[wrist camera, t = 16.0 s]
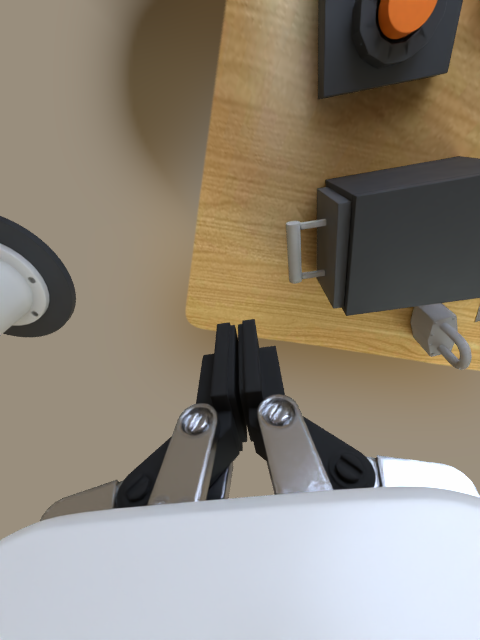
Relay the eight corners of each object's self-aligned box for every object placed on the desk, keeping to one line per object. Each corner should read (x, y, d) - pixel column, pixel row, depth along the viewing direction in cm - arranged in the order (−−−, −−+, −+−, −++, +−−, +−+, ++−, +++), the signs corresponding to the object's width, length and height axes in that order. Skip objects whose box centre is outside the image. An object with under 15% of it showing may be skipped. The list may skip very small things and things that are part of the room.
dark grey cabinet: (323, 277, 38) (346, 316, 30) (325, 179, 31) (356, 196, 23) (430, 262, 37) (483, 297, 29) (459, 156, 30) (539, 165, 22)
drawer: (285, 282, 37) (295, 313, 31) (279, 195, 31) (291, 211, 25) (418, 263, 36) (457, 291, 30) (440, 167, 29) (497, 176, 23)
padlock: (435, 331, 44) (480, 377, 36) (409, 337, 45) (448, 384, 36) (438, 295, 40) (491, 337, 32) (410, 303, 41) (454, 346, 32)
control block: (317, 99, 27) (329, 95, 23) (318, -43, 22) (333, -74, 18) (433, 76, 26) (461, 68, 23) (462, -78, 21) (505, -117, 17)
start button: (374, 44, 22) (384, 37, 20) (381, -24, 20) (392, -36, 18) (420, 34, 22) (433, 27, 20) (431, -36, 20) (447, -49, 18)
